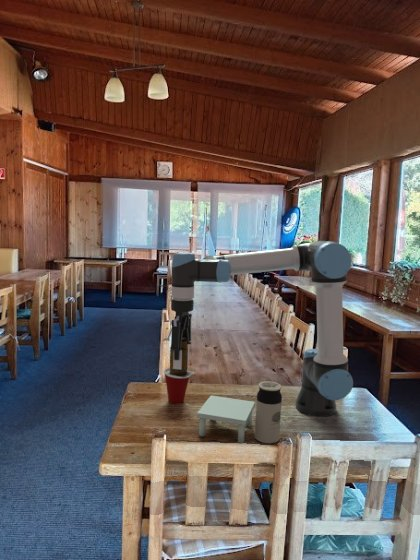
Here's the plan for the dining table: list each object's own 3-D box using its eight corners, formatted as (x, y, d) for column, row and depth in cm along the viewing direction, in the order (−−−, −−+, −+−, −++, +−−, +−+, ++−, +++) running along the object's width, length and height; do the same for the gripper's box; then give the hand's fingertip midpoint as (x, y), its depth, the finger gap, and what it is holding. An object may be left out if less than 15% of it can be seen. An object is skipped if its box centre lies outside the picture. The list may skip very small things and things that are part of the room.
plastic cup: (186, 408, 167) (187, 377, 166) (159, 404, 169) (160, 374, 168) (193, 397, 178) (194, 368, 176) (167, 394, 180) (168, 365, 179)
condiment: (177, 367, 157) (178, 334, 156) (196, 373, 153) (197, 338, 151) (163, 373, 151) (164, 338, 150) (183, 378, 147) (184, 343, 145)
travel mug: (250, 434, 148) (253, 382, 146) (270, 431, 152) (273, 379, 149) (262, 445, 141) (266, 391, 139) (283, 441, 144) (287, 388, 142)
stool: (253, 423, 156) (255, 401, 155) (244, 444, 141) (245, 420, 140) (209, 416, 161) (210, 395, 160) (196, 436, 146) (197, 412, 145)
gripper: (181, 294, 159) (179, 356, 162) (161, 302, 141) (159, 373, 144) (201, 295, 157) (199, 359, 160) (183, 304, 139) (181, 376, 142)
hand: (180, 365), depth 152 cm, fingers closed on condiment, 6 cm apart
